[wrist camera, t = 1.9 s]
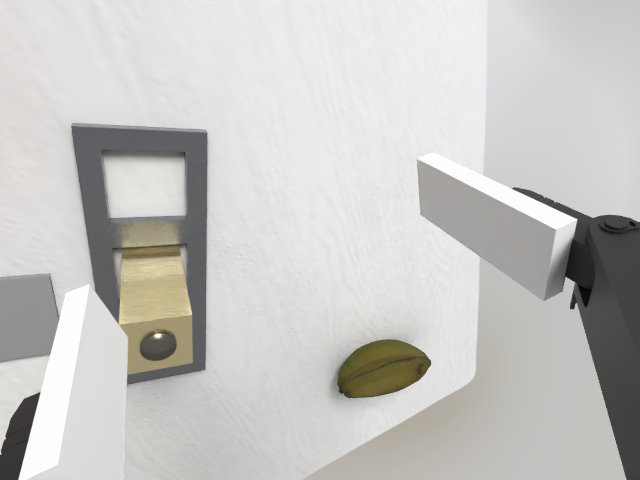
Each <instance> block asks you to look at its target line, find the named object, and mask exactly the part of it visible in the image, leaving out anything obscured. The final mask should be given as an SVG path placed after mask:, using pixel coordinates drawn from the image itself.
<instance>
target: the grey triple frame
mask: <svg viewBox="0 0 640 480" xmlns="http://www.w3.org/2000/svg"><path fill="white" fill-rule="evenodd" d="M71 128H72V135H73V141H74V148H75V155H76V162H77V168H78V175H79V182H80V188H81V195H82V202H83V209H84V215H85V222H86V229H87V235H88V242H89V249H90V256H91V262H92V269H93V276H94V283H95V289H96V294H97V295H98V296H99V298H100V299H101V301H102V302H103V303H104V305H105V306H106V308H107V309H108V310H109V312H110V313H111V314H112V316H113V317H114V319H115V320H116V321H117V323H118V324H119V310H120V300H119V295H118V286H117V277H116V269H115V260H114V252H113V248H123V247H139V246H155V245H171V244H187V286H188V296H189V301H190V306H191V311H192V343H193V363H190V364H184V365H179V366H173V367H168V368H162V369H157V370H151V371H146V372H140V373H135V374H129V375H127V385H128V384H133V383H138V382H143V381H149V380H154V379H159V378H164V377H170V376H175V375H180V374H185V373H190V372H196V371H201V370H205V352H206V232H207V131H206V130H198V129H178V128H159V127H139V126H119V125H100V124H80V123H73V124H72V126H71ZM102 150H129V151H165V152H185V174H186V216H162V217H134V218H109V209H108V200H107V192H106V183H105V175H104V166H103V158H102Z"/></svg>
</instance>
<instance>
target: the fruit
mask: <svg viewBox="0 0 640 480" xmlns="http://www.w3.org/2000/svg"><path fill="white" fill-rule="evenodd" d="M430 365H431V361H430V359H429V358H428V357H427V356H426V354H425V353H424V352H422V351H421V350H419V349H418V348H416V347H414V346H412V345H410V344H407V343H404V342H401V341H397V340H380V341H375V342H372V343H369V344H367V345H364V346H362V347H361V348H359V349H357V350H356V351H355V352H354V353H353V354H352V355H351V356H350V357H349V359H348V360H347V361H346V363H345V364H344V366H343V367H342V369H341V371H340V373H339V378H338V386H339V389H340V390H339V392H340V393H341V394H342V393H344V395H345V396H346V397H348V398H361V397H364V398H365V397H375V396H380V395H385V394H389V393H393V392H397V391H399V390H402V389H404V388H406V387H408V386H410V385H411V384H413V383H415V382H417V381H418V380H420V379H421V378H422V377H423V376H424V374H425V373H426V371H427V370H428V368H429V367H430Z"/></svg>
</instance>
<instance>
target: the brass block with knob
mask: <svg viewBox="0 0 640 480" xmlns="http://www.w3.org/2000/svg"><path fill="white" fill-rule="evenodd" d="M119 326H120V327H121V328H122V330H123V331H124V333H125V334H126V335H127V337H128V359H127V375H129V374H135V373H140V372H146V371H151V370H157V369H162V368H168V367H173V366H179V365H184V364H190V363H193V343H192V311H191V306H190V301H189V296H188V291H187V286H186V280H185V275H184V270H183V265H182V260H181V255H180V249H179V246H164V247H149V248H133V249H122V267H121V289H120V310H119Z"/></svg>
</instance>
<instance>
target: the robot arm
mask: <svg viewBox="0 0 640 480" xmlns="http://www.w3.org/2000/svg"><path fill="white" fill-rule="evenodd" d="M417 167H418V183H419V199H420V214H421V215H422V216H423V217H425V218H426V219H428V220H429V221H430V222H432V223H433V224H435V225H436V226H437V227H439V228H440V229H442V230H443V231H445V232H446V233H447V234H449V235H450V236H452V237H453V238H455V239H456V240H457V241H459V242H460V243H462V244H463V245H465V246H466V247H467V248H469V249H470V250H472V251H473V252H475V253H476V254H477V255H479V256H480V257H482V258H483V259H485V260H486V261H488V262H489V263H490V264H492V265H493V266H494V267H496V268H497V269H499V270H500V271H502V272H503V273H504V274H506V275H508V276H509V277H510V278H512V279H513V280H515V281H516V282H517V283H519V284H520V285H522V286H523V287H525V288H526V289H527V290H529V291H530V292H532V293H533V294H534V295H536V296H537V297H539V298H540V299H542V300H543V301H545V300H547V299H549V298H551V297H553V296H555V295H556V294H558V293H560V292H562V291H563V286H564V282H565V277H567V278H569V279H571V280H572V281H574V282H575V286H574V290H573V294H572V299H571V303H570V309H574V307H575V304H576V303H577V304H578V308H579V311H580V315H581V318H582V322H583V326H584V329H585V333H586V336H587V340H588V344H589V347H590V350H591V354H592V358H593V361H594V365H595V369H596V372H597V376H598V379H599V383H600V386H601V390H602V394H603V397H604V400H605V404H606V408H607V411H608V415H609V419H610V422H611V426H612V429H613V433H614V436H615V440H616V444H617V447H618V451H619V454H620V458H621V461H622V465H623V468H624V472H625V476H626V479H627V480H640V222H637V221H635V220H632V219H631V218H627V217H623V216H617V215H603V216H598V217H596V218H591V217H589V216H587V215H584V214H582V213H580V212H577V211H575V210H573V209H571V208H568V207H566V206H564V205H562V204H560V203H557V202H556V203H555V202H554V201H553V200H551V199H548V198H544V197H543V196H542V195H539V194H537V193H535V192H533V191H530V190H525V189H520V188H515V187H514V188H512V189H510V188H508V187H506V186H504V185H502V184H500V183H497V182H495V181H493V180H491V179H489V178H486V177H484V176H482V175H480V174H478V173H476V172H474V171H472V170H469V169H467V168H465V167H463V166H461V165H459V164H456V163H454V162H452V161H450V160H448V159H446V158H443V157H441V156H439V155H437V154H435V153H433V152H432V153H430V154H427V155H425V156H422V157H419V158H417ZM127 359H128V337H127V335H126V334H125V333H124V331H123V330H122V328H121V327H120V326H119V324H118V323H117V321H116V320H115V319H114V317H113V316H112V314H111V313H110V312H109V310H108V309H107V308H106V306H105V305H104V303H103V302H102V301H101V299H100V298H99V296H98V295H97V294H96V292H95V291H94V289H93V288H92V287H91V285H90V284H88V285H86V286H83V287H81V288H78V289H75V290H73V291H70V292H68V293H66V296H65V300H64V304H63V308H62V312H61V315H60V319H59V323H58V327H57V331H56V335H55V339H54V343H53V347H52V351H51V355H50V358H49V362H48V366H47V370H46V374H45V378H44V382H43V386H42V390H41V392H39V393H37V394H35V395H32V396H30V397H28V398H25V399H24V400H23V401H22V403H21V404H20V406H19V407H18V409H17V410H16V412H15V413H14V415H13V416H12V418H11V420H10V424H9V427H8V430H7V433H6V436H5V437H6V440H4V443H3V446H2V449H1V453H2V455H0V480H124V466H125V431H126V395H127Z"/></svg>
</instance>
